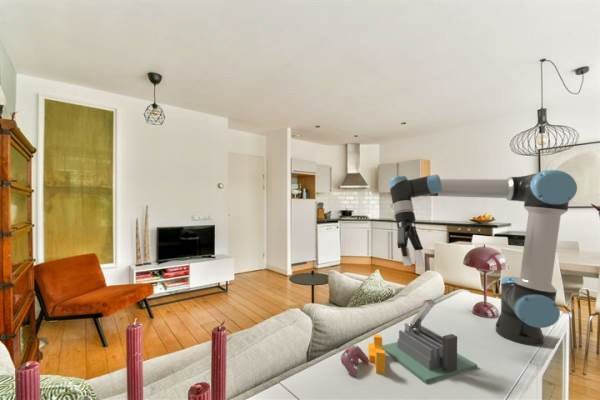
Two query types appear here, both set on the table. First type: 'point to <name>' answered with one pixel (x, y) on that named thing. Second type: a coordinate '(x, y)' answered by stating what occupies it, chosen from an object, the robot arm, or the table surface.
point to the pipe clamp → (377, 354)
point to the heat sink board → (428, 354)
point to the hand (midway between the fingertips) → (414, 266)
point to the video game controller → (353, 359)
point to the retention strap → (422, 313)
